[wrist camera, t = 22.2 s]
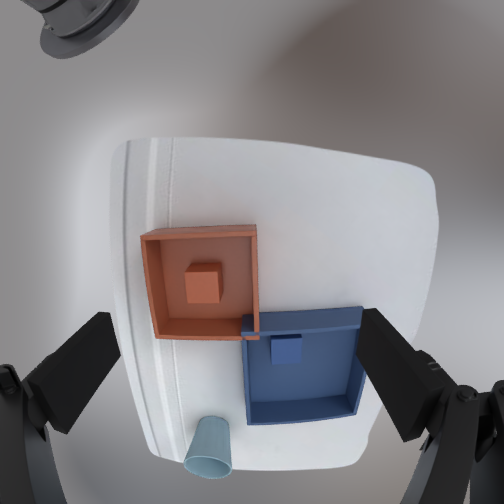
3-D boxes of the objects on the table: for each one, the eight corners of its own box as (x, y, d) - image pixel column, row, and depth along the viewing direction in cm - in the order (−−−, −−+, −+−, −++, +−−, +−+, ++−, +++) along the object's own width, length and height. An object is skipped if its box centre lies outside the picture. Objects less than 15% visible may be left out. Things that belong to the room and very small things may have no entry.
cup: (193, 434, 43) (185, 475, 33) (192, 409, 42) (181, 452, 31) (233, 439, 43) (230, 480, 33) (235, 414, 42) (232, 459, 32)
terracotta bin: (155, 228, 35) (139, 235, 29) (256, 224, 35) (256, 230, 29) (167, 320, 38) (155, 338, 32) (258, 320, 38) (259, 340, 32)
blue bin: (242, 312, 37) (240, 331, 32) (362, 305, 37) (376, 322, 32) (247, 402, 41) (247, 425, 36) (347, 394, 41) (356, 415, 35)
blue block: (269, 325, 37) (271, 339, 33) (298, 323, 37) (302, 338, 33) (269, 349, 38) (271, 364, 34) (297, 347, 38) (301, 363, 34)
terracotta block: (191, 263, 35) (183, 272, 31) (221, 262, 35) (217, 271, 31) (193, 292, 36) (187, 303, 32) (223, 291, 36) (219, 303, 32)
